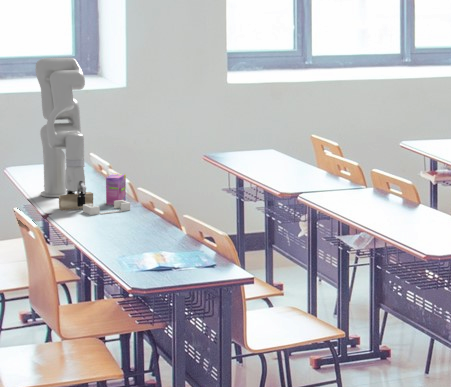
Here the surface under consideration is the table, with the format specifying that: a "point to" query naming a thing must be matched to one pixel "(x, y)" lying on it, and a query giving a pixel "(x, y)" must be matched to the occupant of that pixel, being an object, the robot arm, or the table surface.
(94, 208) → the endcaps
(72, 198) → the slat
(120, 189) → the box
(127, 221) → the table surface
